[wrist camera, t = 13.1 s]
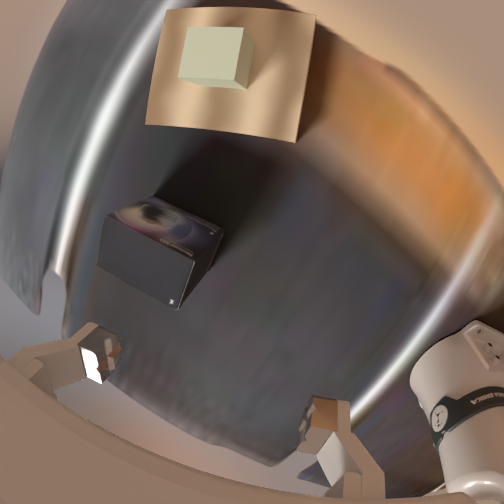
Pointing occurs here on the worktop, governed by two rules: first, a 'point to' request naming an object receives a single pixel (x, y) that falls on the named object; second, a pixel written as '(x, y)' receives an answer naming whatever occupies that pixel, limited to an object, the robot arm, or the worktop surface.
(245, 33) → the sage cube
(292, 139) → the birch platform
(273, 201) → the worktop surface
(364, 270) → the worktop surface
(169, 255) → the small box
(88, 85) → the worktop surface
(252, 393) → the worktop surface
